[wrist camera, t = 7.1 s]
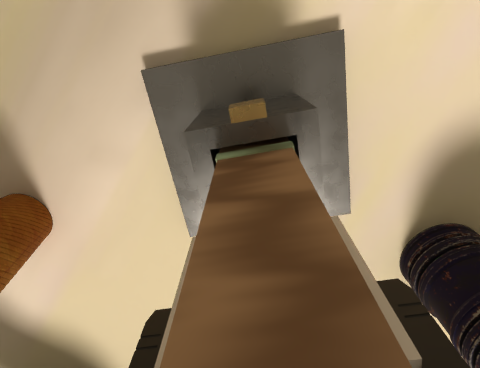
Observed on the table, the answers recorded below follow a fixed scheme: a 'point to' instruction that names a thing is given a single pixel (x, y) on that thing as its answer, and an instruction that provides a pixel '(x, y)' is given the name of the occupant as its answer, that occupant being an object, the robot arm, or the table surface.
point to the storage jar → (448, 282)
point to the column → (273, 276)
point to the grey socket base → (255, 114)
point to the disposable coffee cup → (20, 232)
